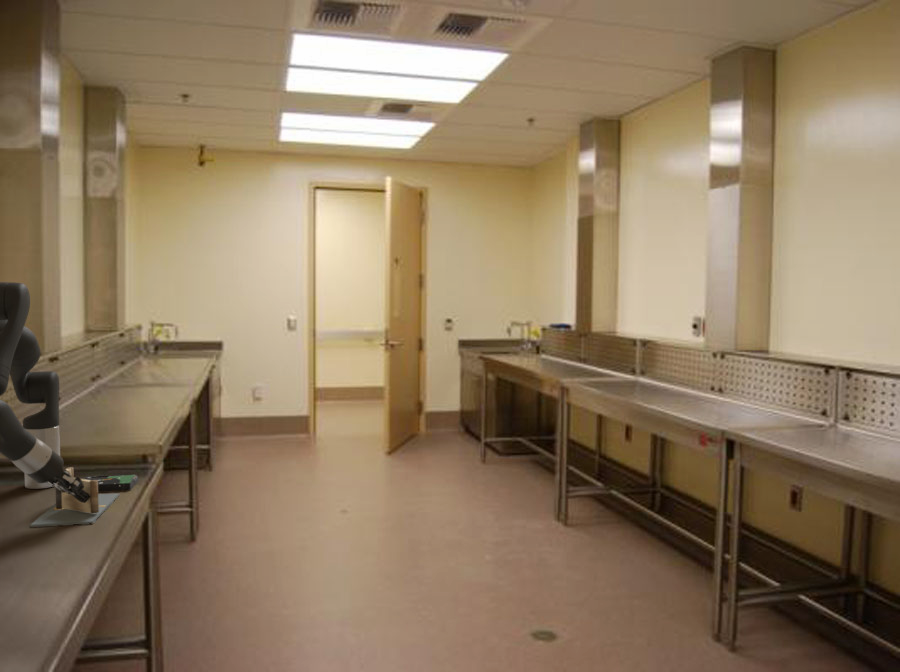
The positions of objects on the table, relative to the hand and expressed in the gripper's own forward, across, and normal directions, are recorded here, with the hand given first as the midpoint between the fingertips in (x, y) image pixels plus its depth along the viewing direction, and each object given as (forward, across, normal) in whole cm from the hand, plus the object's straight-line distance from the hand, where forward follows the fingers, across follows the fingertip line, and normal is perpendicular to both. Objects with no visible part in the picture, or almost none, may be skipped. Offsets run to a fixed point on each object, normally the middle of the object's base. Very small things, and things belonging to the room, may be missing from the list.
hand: (85, 499), depth 182 cm
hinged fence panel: (+3, +4, +2) cm, 5 cm away
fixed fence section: (+6, +14, +1) cm, 15 cm away
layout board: (+5, +7, +1) cm, 9 cm away
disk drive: (+18, +21, -11) cm, 30 cm away
